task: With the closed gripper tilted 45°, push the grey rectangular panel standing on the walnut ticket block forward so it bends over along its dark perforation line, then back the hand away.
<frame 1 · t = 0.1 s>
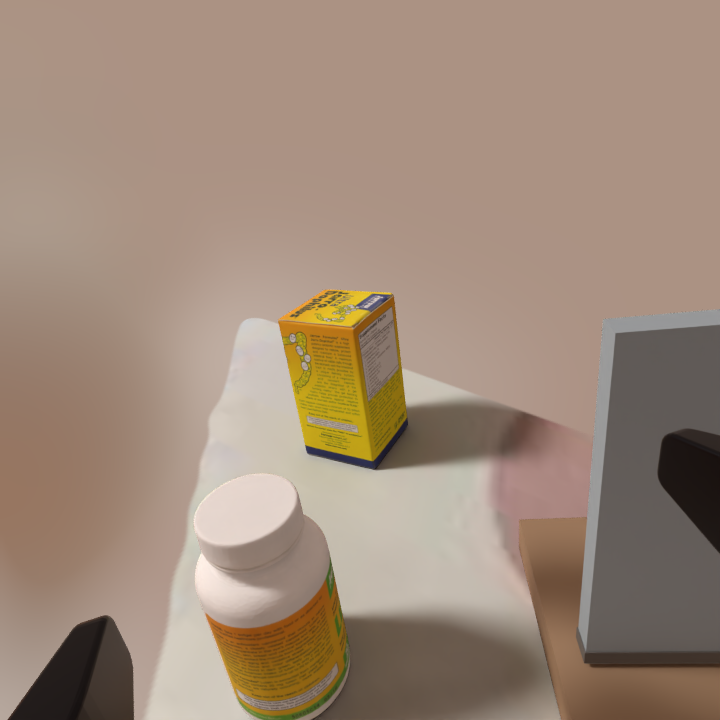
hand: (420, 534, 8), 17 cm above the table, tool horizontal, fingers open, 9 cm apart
ticket block: (655, 630, 23), on the table
supplement box: (358, 442, 40), on the table
supplement bottle: (294, 671, 24), on the table
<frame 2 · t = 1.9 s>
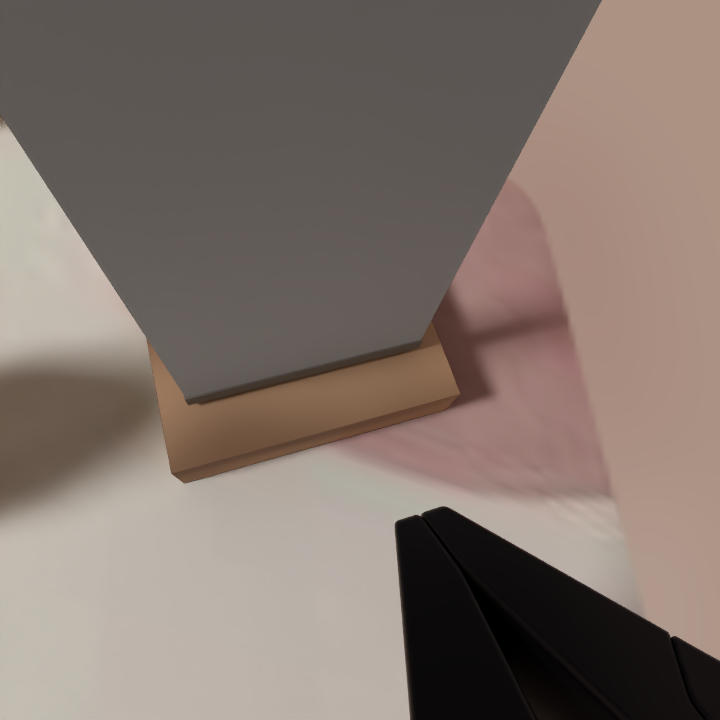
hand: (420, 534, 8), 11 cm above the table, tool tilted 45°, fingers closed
ticket block: (288, 325, 21), on the table
grey rectangular panel: (308, 246, 12), point 9 cm above the table, hinge at 0.0°
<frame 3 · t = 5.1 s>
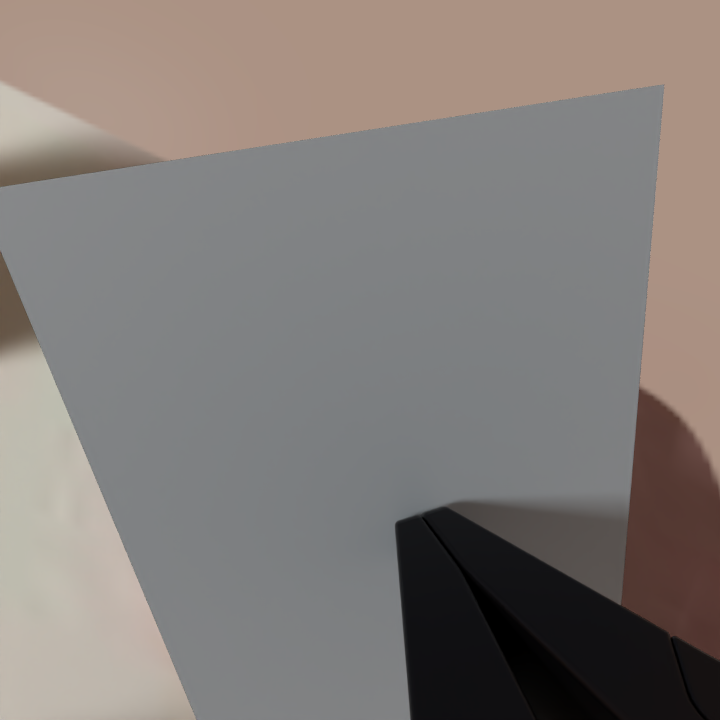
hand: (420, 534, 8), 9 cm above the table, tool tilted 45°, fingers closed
grey rectangular panel: (413, 566, 9), point 7 cm above the table, hinge at 46.8°
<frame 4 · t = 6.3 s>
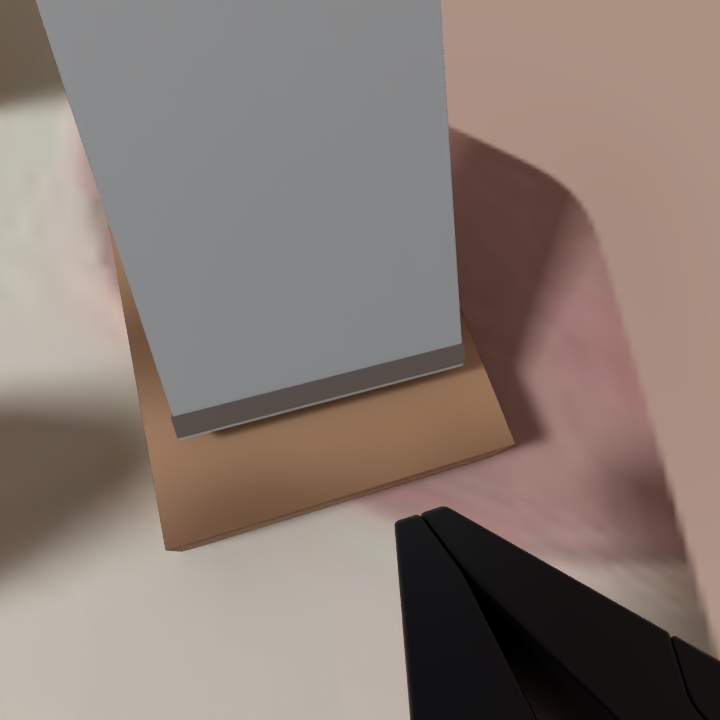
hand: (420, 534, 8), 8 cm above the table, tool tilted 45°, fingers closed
ticket block: (304, 355, 18), on the table
grey rectangular panel: (275, 122, 12), point 7 cm above the table, hinge at 46.8°
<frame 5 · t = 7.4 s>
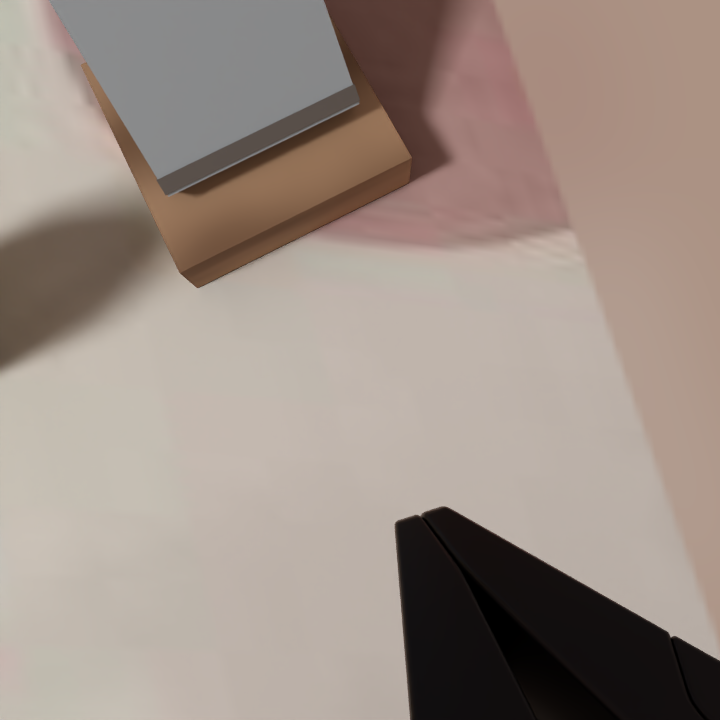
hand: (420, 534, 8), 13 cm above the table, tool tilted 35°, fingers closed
ticket block: (253, 138, 23), on the table
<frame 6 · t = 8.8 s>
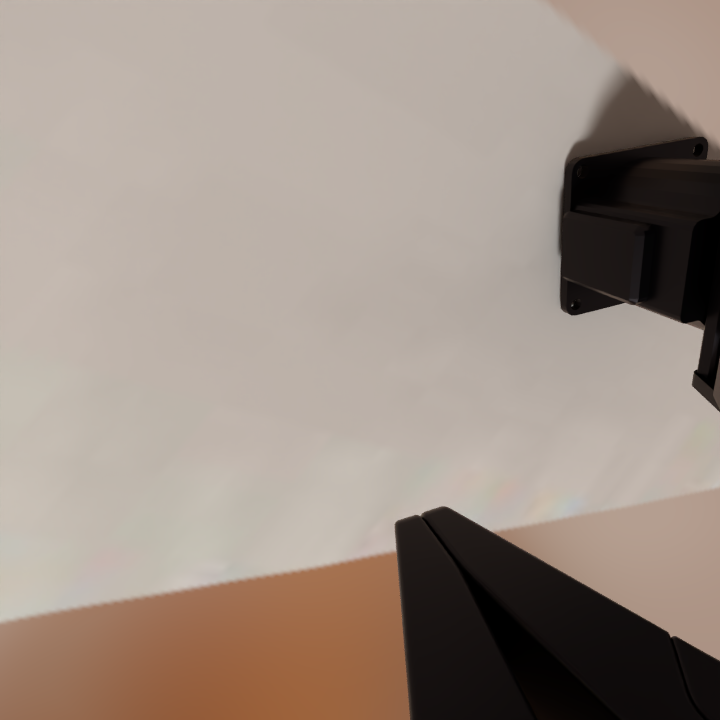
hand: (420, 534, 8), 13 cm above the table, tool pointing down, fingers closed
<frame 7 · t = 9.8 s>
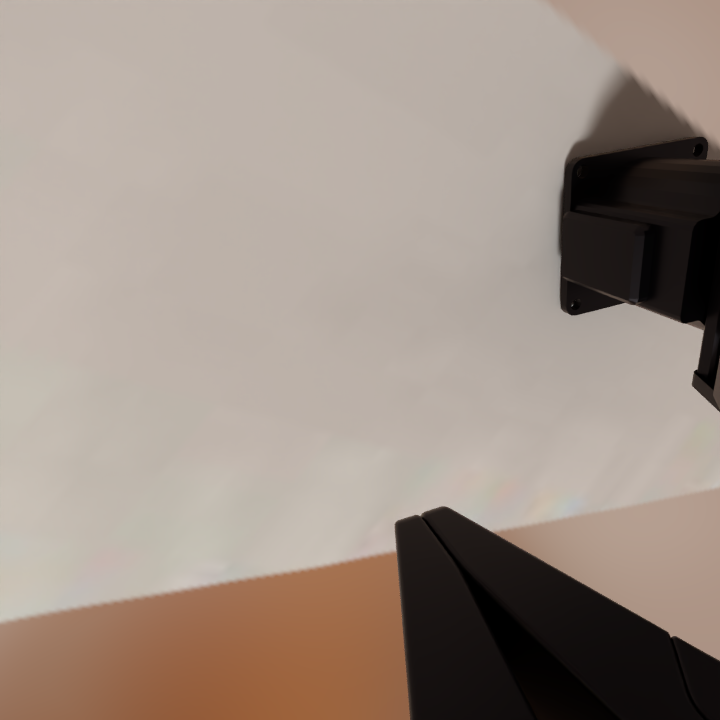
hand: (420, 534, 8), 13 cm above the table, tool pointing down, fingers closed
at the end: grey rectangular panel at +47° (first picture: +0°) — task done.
